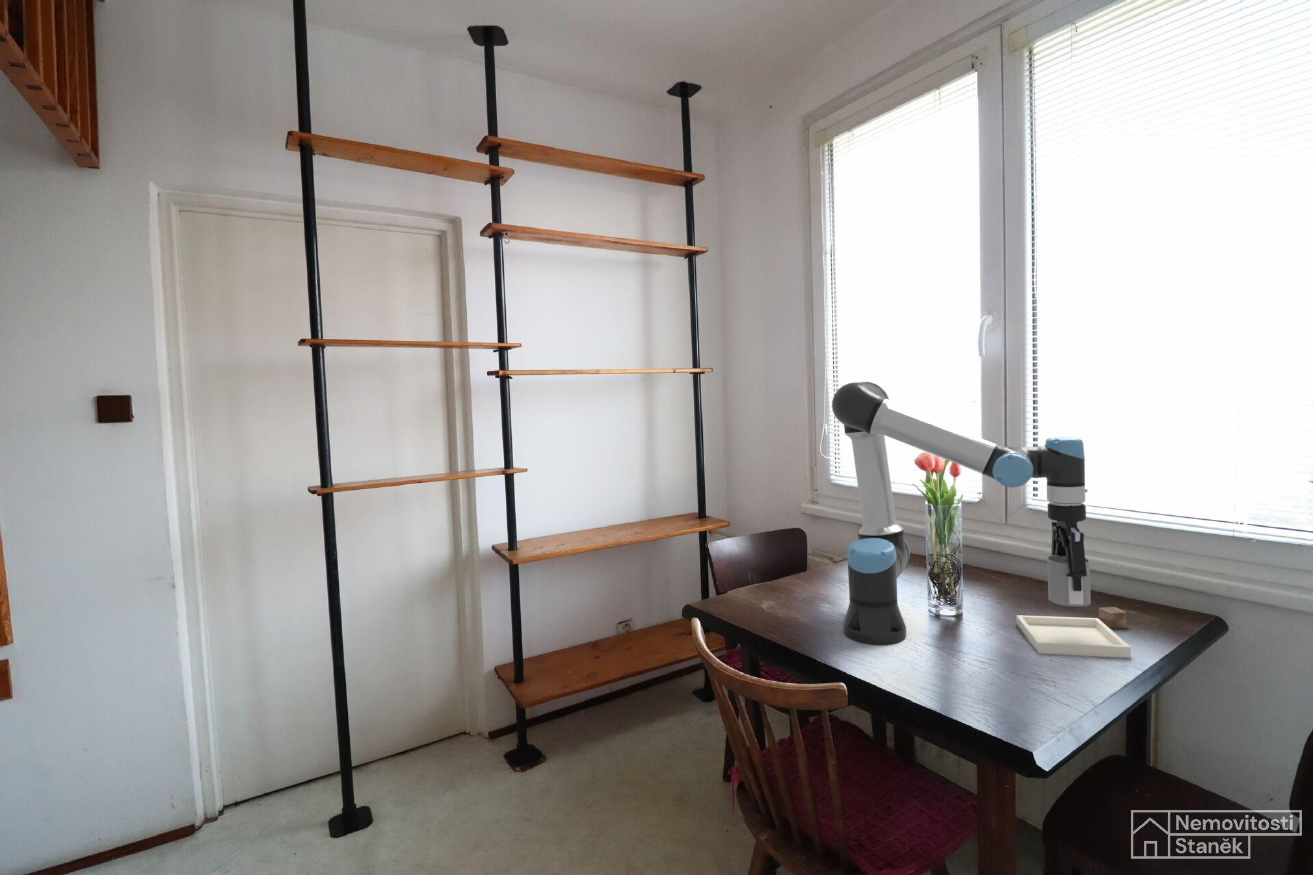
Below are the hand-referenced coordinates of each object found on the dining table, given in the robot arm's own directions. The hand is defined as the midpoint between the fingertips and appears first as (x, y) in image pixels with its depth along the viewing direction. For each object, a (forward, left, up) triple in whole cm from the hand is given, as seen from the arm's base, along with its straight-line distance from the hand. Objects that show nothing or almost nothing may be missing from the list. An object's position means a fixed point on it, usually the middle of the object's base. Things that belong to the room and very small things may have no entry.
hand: (1069, 597), depth 147 cm
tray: (0, 0, -10) cm, 10 cm away
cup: (0, 0, -1) cm, 1 cm away
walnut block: (+13, +12, -11) cm, 20 cm away
